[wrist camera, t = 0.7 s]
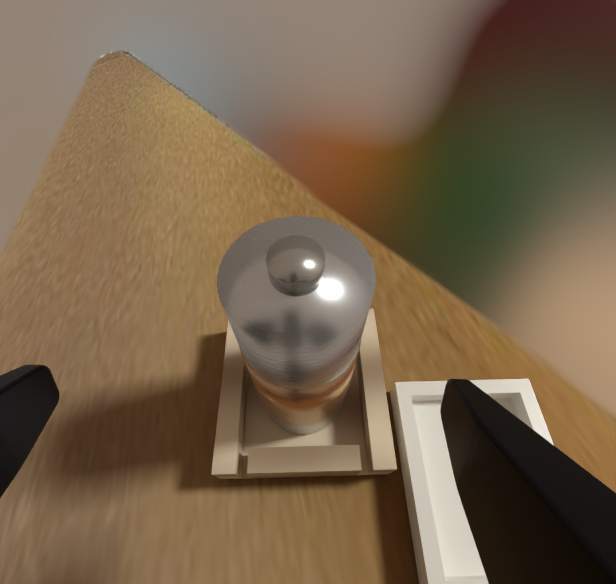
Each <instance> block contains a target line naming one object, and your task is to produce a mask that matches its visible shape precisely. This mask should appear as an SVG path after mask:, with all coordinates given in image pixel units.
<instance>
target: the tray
mask: <svg viewBox="0 0 616 584" xmlns="http://www.w3.org/2000/svg"><path fill="white" fill-rule="evenodd" d="M469 381H471V382H472V383H473V384H475V385H476V386H477V387H479V388H480V389H481V390H482V391H484V392H485V393H486V394H488V395H489V396H490V397H492V398H493V399H494V400H495V401H497V402H498V403H499V404H501V405H502V406H503V407H504V408H506V409H507V410H508V411H510V412H511V413H512V414H514V415H515V416H516V417H517V418H519V419H520V420H521V421H523V422H524V423H525V424H527V425H528V426H529V427H530V428H532V429H533V430H534V431H536V432H537V433H538V434H540V435H541V436H542V437H543V438H545V439H546V440H547V441H549V442H550V443H551V444H553V442H552V439H551V436H550V434H549V431H548V429H547V426H546V423H545V421H544V418H543V415H542V413H541V410H540V407H539V405H538V402H537V399H536V397H535V394H534V392H533V389H532V386H531V384H530V381H529V379H501V380H469ZM446 383H447V381H427V382H395V384H394V385H393V387H392V388H391V390H390V398H391V404H392V411H393V417H394V424H395V430H396V437H397V444H398V450H399V457H400V463H401V470H402V476H403V483H404V489H405V496H406V502H407V509H408V515H409V522H410V528H411V535H412V541H413V548H414V555H415V561H416V568H417V574H418V581H419V584H489V583H488V580H487V577H486V574H485V571H484V568H483V565H482V562H481V559H480V556H479V553H478V550H477V547H476V544H475V541H474V538H473V535H472V532H471V529H470V526H469V523H468V521H467V518H466V515H465V512H464V509H463V506H462V503H461V500H460V496H459V493H458V490H457V487H456V483H455V479H454V474H453V470H452V465H451V461H450V456H449V452H448V447H447V443H446V438H445V434H444V429H443V425H442V420H441V414H440V409H441V403H442V399H443V395H444V390H445V386H446ZM553 445H554V444H553Z"/></svg>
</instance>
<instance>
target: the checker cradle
mask: <svg viewBox="0 0 616 584" xmlns="http://www.w3.org/2000/svg"><path fill="white" fill-rule="evenodd" d="M395 470H397V464H396V457H395V451H394V444H393V437H392V430H391V424H390V417H389V410H388V403H387V396H386V390H385V383H384V376H383V369H382V362H381V356H380V349H379V342H378V335H377V328H376V322H375V315H374V309H369V312H368V316H367V319H366V323H365V327H364V330H363V334H362V337H361V345H360V349H359V353H358V356H357V360H356V363H355V367H354V370H353V374H352V377H351V381H350V384H349V387H348V391H347V394H346V397H345V399H344V402H343V405H342V408H341V411H340V413H339V414H338V416H337V417H336V419H335V420H334V421H333V422H332V423H331V424H330V425H329V426H328V427H326V428H325V429H323V430H321V431H319V432H316V433H313V434H306V435H299V434H293V433H290V432H287V431H285V430H283V429H282V428H280V427H279V426H277V425H276V424H275V423H274V422H273V421H272V420H271V418H270V417H269V415H268V414H267V411H266V409H265V407H264V405H263V403H262V402H261V399H260V397H259V395H258V393H257V390H256V388H255V385H254V383H253V381H252V378H251V376H250V374H249V371H248V369H247V367H246V364H245V362H244V359H243V357H242V355H241V352H240V348H239V344H238V342H237V339H236V337H235V335H234V332H233V330H232V327H231V325H230V323H229V320H228V329H227V338H226V347H225V356H224V365H223V374H222V383H221V391H220V400H219V409H218V418H217V427H216V436H215V445H214V454H213V463H212V472H211V475H213V476H216V477H218V478H220V479H248V478H283V477H317V476H351V475H386V474H390V473H391V472H393V471H395Z"/></svg>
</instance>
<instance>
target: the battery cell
mask: <svg viewBox="0 0 616 584" xmlns="http://www.w3.org/2000/svg"><path fill="white" fill-rule="evenodd" d="M375 282H376V277H375V269H374V265H373V261H372V259H371V257H370V254H369V253H368V251H367V249H366V248H365V247H364V245H363V244H362V243H361V242H360V241H359V240H358V239H357V238H356V237H355V236H354V235H353V234H352V233H350V232H349V231H348V230H346V229H344V228H343V227H341V226H339V225H337V224H334V223H332V222H329V221H326V220H323V219H319V218H314V217H306V216H291V217H283V218H277V219H273V220H270V221H267V222H264V223H261V224H259V225H257V226H255V227H253V228H251V229H250V230H248V231H247V232H245V233H244V234H243V235H241V236H240V237H239V238H238V239H237V240H236V241H235V242H234V243H233V244H232V245H231V246H230V248H229V249H228V250H227V252H226V253H225V255H224V257H223V259H222V261H221V264H220V267H219V271H218V277H217V287H218V294H219V297H220V301H221V303H222V306H223V308H224V310H225V313H226V315H227V318H228V320H229V323H230V325H231V327H232V330H233V332H234V335H235V337H236V339H237V342H238V344H239V348H240V352H241V355H242V357H243V359H244V362H245V364H246V367H247V369H248V371H249V374H250V376H251V378H252V381H253V383H254V385H255V388H256V390H257V393H258V395H259V397H260V399H261V402H262V403H263V405H264V407H265V409H266V411H267V414H268V415H269V417H270V418H271V420H272V421H273V422H274V423H275V424H276V425H277V426H279V427H280V428H282V429H283V430H285V431H287V432H290V433H293V434H299V435H306V434H313V433H316V432H319V431H321V430H323V429H325V428H326V427H328V426H329V425H330V424H331V423H332V422H333V421H334V420H335V419H336V417H337V416H338V414H339V413H340V411H341V408H342V405H343V402H344V399H345V397H346V394H347V391H348V387H349V384H350V381H351V377H352V374H353V370H354V367H355V363H356V360H357V356H358V353H359V349H360V345H361V337H362V334H363V330H364V327H365V323H366V319H367V316H368V312H369V309H370V305H371V301H372V298H373V294H374V290H375Z"/></svg>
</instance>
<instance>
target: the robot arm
mask: <svg viewBox="0 0 616 584" xmlns="http://www.w3.org/2000/svg"><path fill="white" fill-rule="evenodd" d="M58 401H59V390H58V388H57V386H56V383H55V381H54V378H53V376H52V374H51V371H50V369H49V368H48V367H47V366H44V365H24V366H22V367H19V368H17V369H15V370H12V371H10V372H8V373H5V374H3V375H1V376H0V498H1V496H2V495H3V493H4V492H5V490H6V489H7V488H8V486H9V485H10V483H11V482H12V480H13V479H14V477H15V476H16V474H17V473H18V471H19V470H20V468H21V467H22V465H23V463H24V462H25V460H26V458H27V457H28V455H29V453H30V451H31V449H32V448H33V446H34V444H35V442H36V441H37V439H38V437H39V435H40V434H41V432H42V430H43V428H44V427H45V425H46V423H47V421H48V419H49V418H50V416H51V414H52V412H53V411H54V409H55V407H56V405H57V403H58ZM440 414H441V420H442V425H443V429H444V434H445V438H446V443H447V447H448V452H449V456H450V461H451V465H452V470H453V474H454V479H455V483H456V487H457V490H458V493H459V496H460V500H461V503H462V506H463V509H464V512H465V515H466V518H467V521H468V523H469V526H470V529H471V532H472V535H473V538H474V541H475V544H476V547H477V550H478V553H479V556H480V559H481V562H482V565H483V568H484V571H485V574H486V577H487V580H488V583H489V584H616V493H615V492H614V491H612V490H611V489H610V488H608V487H607V486H606V485H604V484H603V483H602V482H601V481H599V480H598V479H597V478H595V477H594V476H593V475H591V474H590V473H589V472H588V471H586V470H585V469H584V468H582V467H581V466H580V465H578V464H577V463H576V462H575V461H573V460H572V459H571V458H569V457H568V456H567V455H565V454H564V453H563V452H562V451H560V450H559V449H558V448H556V447H555V446H554V445H553V444H551V443H550V442H549V441H547V440H546V439H545V438H543V437H542V436H541V435H540V434H538V433H537V432H536V431H534V430H533V429H532V428H530V427H529V426H528V425H527V424H525V423H524V422H523V421H521V420H520V419H519V418H517V417H516V416H515V415H514V414H512V413H511V412H510V411H508V410H507V409H506V408H504V407H503V406H502V405H501V404H499V403H498V402H497V401H495V400H494V399H493V398H492V397H490V396H489V395H488V394H486V393H485V392H484V391H482V390H481V389H480V388H479V387H477V386H476V385H475V384H473V383H472V382H471V381H469V380H466V379H450V380H448V381H447V383H446V386H445V390H444V395H443V399H442V403H441V409H440Z"/></svg>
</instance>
